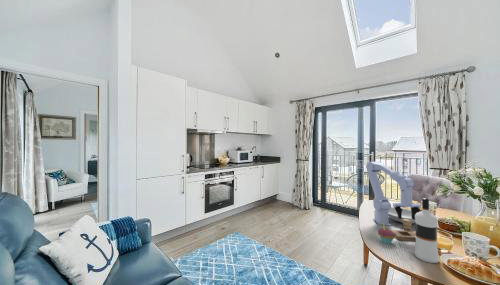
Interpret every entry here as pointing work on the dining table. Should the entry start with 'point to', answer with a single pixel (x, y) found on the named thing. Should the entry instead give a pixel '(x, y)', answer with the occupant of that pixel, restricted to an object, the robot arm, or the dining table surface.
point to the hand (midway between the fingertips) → (406, 218)
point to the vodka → (426, 234)
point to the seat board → (400, 234)
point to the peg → (406, 225)
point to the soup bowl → (405, 215)
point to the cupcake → (386, 235)
